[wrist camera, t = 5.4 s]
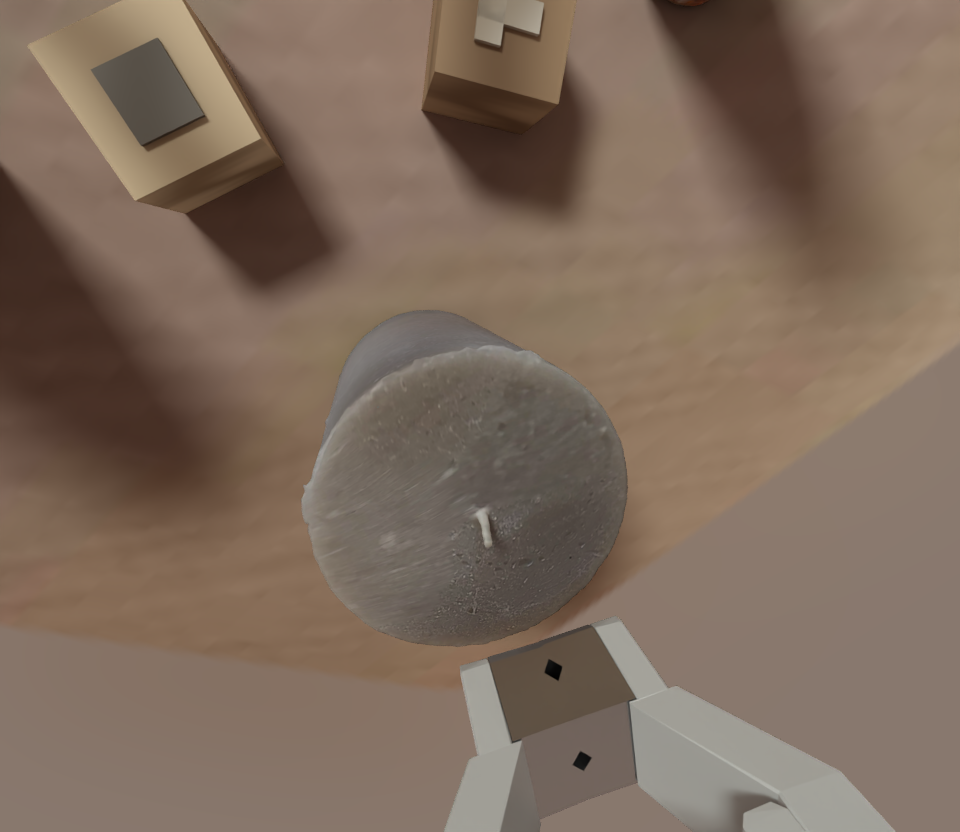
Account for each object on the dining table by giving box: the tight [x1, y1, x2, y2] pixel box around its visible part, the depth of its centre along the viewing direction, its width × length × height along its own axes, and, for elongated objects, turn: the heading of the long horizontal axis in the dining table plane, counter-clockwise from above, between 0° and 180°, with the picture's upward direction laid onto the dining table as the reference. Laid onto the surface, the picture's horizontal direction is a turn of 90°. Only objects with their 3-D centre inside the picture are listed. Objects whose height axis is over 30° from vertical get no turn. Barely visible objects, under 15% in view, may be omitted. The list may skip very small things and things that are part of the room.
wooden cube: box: [422, 0, 577, 135], centre depth 20 cm, size 5×5×5 cm
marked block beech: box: [27, 0, 284, 214], centre depth 18 cm, size 5×5×5 cm
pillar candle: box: [301, 310, 628, 647], centre depth 20 cm, size 10×10×15 cm
